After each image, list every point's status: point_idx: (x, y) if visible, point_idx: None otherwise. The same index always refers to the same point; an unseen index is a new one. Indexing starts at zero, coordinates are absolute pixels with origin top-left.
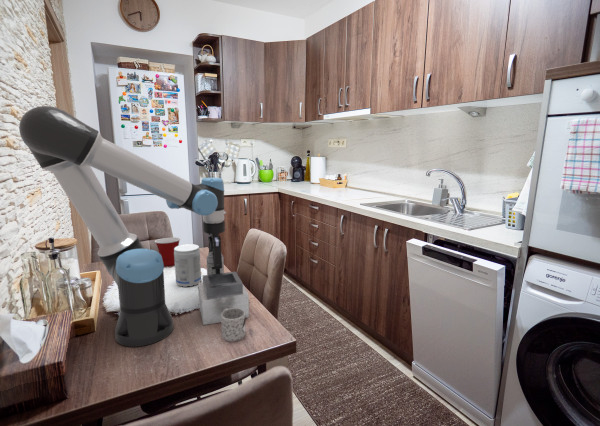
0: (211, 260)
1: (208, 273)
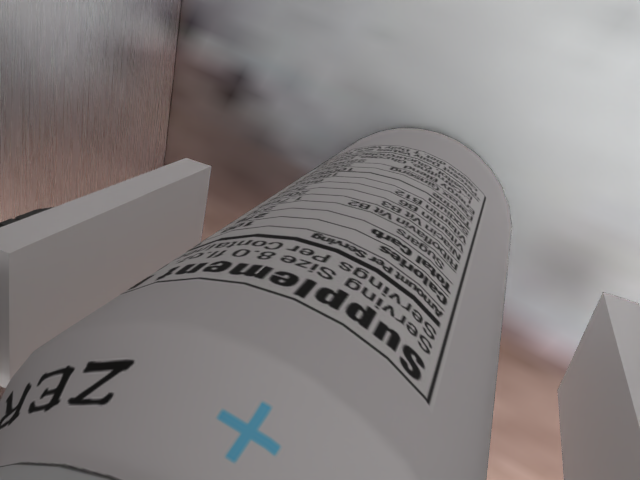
0: (28, 357)
1: (302, 190)
